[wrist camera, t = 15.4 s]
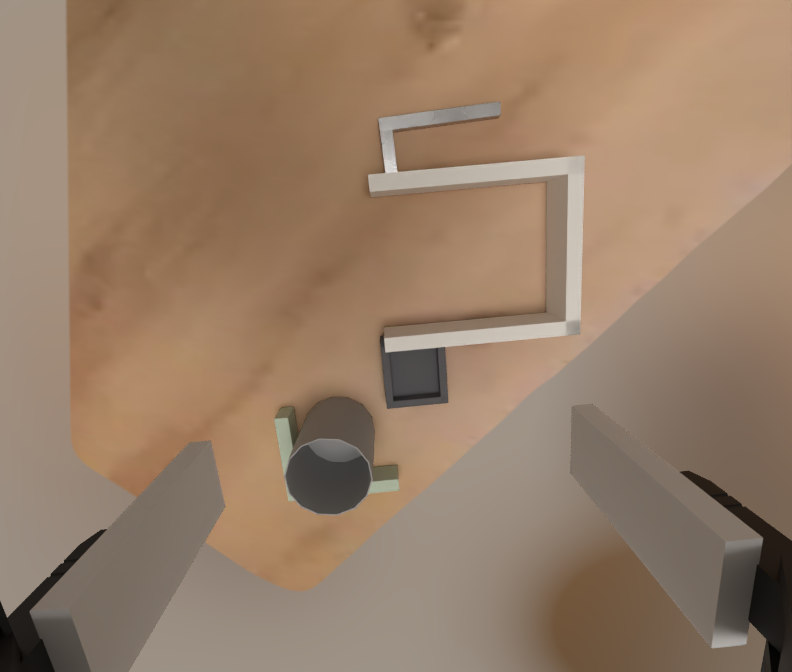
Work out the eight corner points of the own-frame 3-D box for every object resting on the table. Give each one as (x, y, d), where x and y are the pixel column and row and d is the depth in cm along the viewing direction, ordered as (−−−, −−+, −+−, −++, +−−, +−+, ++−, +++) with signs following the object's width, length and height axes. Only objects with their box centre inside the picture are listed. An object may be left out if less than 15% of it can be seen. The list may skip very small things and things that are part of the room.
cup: (335, 382, 46) (323, 421, 36) (388, 425, 48) (390, 473, 38) (290, 432, 47) (266, 482, 38) (343, 472, 49) (333, 530, 39)
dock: (294, 485, 49) (288, 501, 46) (280, 407, 47) (274, 419, 44) (398, 475, 49) (399, 490, 46) (390, 397, 47) (391, 407, 44)
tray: (386, 401, 47) (387, 408, 45) (380, 336, 45) (380, 340, 43) (445, 396, 47) (448, 402, 45) (441, 330, 45) (444, 334, 43)
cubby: (385, 340, 45) (385, 352, 40) (369, 182, 41) (367, 174, 36) (558, 324, 45) (580, 334, 40) (560, 165, 41) (584, 155, 36)
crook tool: (385, 176, 41) (385, 174, 40) (378, 121, 40) (378, 118, 39) (500, 160, 41) (503, 158, 40) (496, 105, 40) (500, 101, 39)
